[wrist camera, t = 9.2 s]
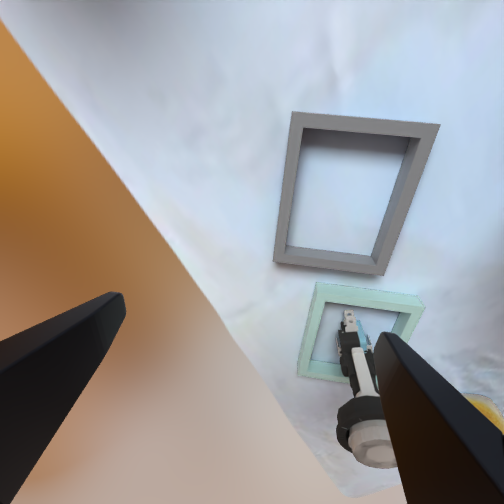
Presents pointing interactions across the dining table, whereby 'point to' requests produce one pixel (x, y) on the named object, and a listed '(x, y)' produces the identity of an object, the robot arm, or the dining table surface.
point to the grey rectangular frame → (398, 203)
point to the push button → (362, 400)
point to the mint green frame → (384, 300)
